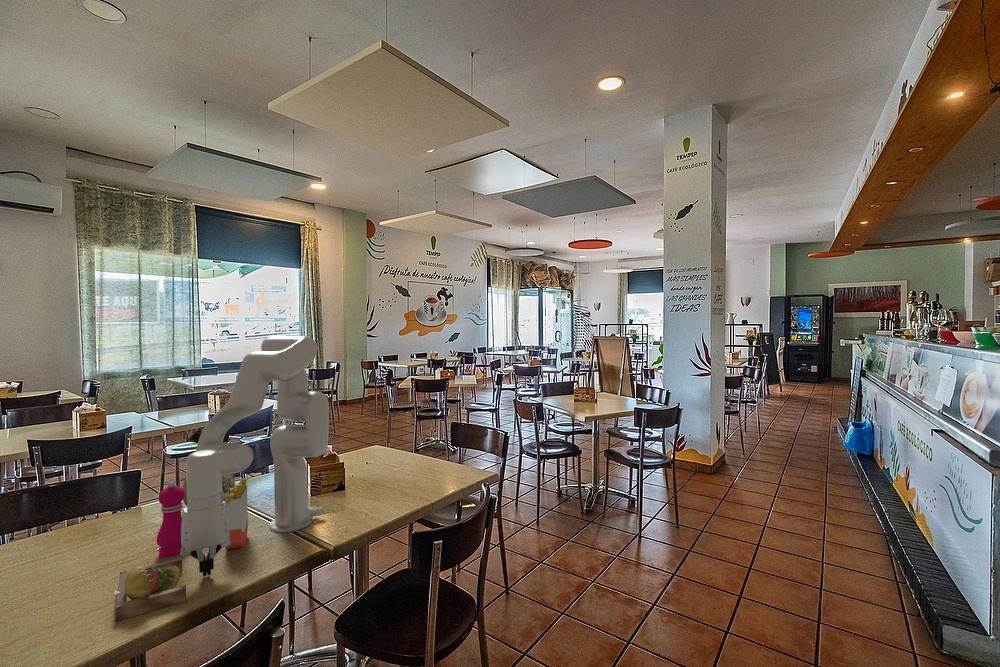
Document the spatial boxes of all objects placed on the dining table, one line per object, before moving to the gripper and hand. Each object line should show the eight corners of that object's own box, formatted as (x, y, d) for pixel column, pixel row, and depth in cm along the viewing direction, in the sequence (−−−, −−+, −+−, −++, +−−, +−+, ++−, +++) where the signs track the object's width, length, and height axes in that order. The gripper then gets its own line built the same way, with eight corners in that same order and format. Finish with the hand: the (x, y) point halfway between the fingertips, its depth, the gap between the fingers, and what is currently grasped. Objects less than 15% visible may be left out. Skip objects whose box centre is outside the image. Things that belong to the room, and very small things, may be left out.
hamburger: (189, 573, 112) (135, 577, 102) (173, 604, 110) (117, 611, 101) (174, 558, 116) (120, 560, 106) (158, 588, 114) (103, 592, 105)
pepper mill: (172, 560, 127) (170, 486, 127) (150, 557, 129) (148, 484, 128) (194, 547, 134) (193, 477, 134) (173, 545, 136) (172, 476, 135)
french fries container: (222, 554, 130) (221, 489, 130) (231, 537, 141) (229, 477, 140) (241, 551, 132) (240, 487, 132) (248, 535, 142) (247, 475, 142)
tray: (181, 568, 123) (181, 557, 123) (186, 600, 108) (186, 587, 108) (120, 584, 115) (119, 572, 115) (116, 621, 101) (115, 607, 101)
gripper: (236, 490, 125) (238, 558, 126) (168, 503, 117) (169, 576, 117) (241, 498, 119) (242, 570, 120) (168, 513, 110) (170, 590, 111)
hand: (206, 573), depth 118 cm, fingers closed
